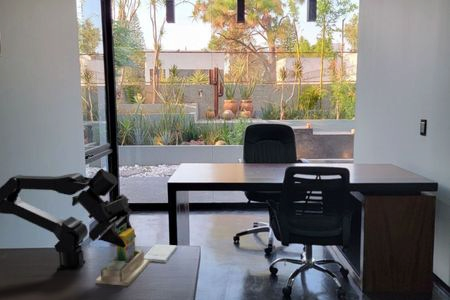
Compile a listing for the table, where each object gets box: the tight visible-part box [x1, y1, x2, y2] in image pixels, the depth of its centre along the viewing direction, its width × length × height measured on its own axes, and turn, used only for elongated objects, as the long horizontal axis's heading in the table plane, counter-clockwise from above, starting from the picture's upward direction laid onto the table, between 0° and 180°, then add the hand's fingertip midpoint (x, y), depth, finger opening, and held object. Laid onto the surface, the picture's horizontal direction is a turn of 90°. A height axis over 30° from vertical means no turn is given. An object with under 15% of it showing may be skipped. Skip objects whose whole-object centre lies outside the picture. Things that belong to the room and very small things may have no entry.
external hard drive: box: [144, 243, 178, 264], centre depth 139 cm, size 2×8×12 cm
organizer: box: [95, 249, 150, 287], centre depth 125 cm, size 10×16×5 cm, turn 169°
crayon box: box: [115, 223, 136, 263], centre depth 127 cm, size 7×3×12 cm, turn 168°
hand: (130, 242), depth 127 cm, fingers closed on crayon box, 7 cm apart
